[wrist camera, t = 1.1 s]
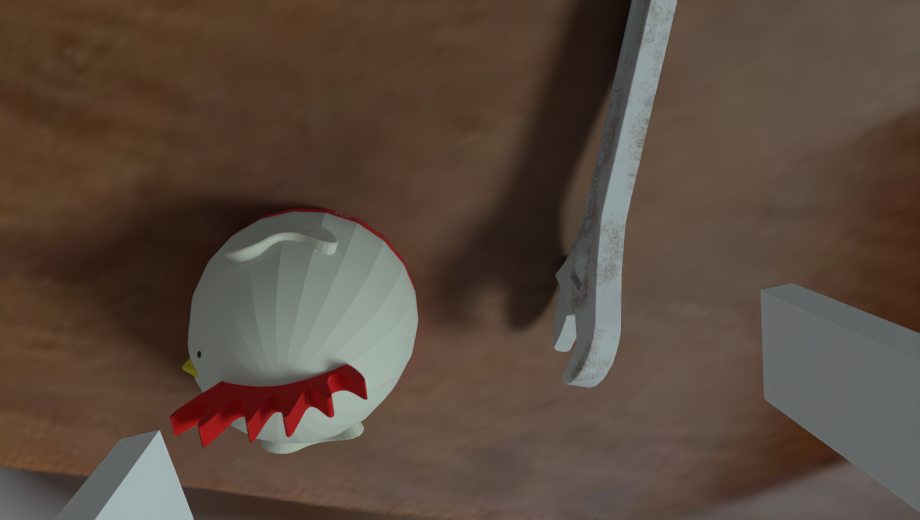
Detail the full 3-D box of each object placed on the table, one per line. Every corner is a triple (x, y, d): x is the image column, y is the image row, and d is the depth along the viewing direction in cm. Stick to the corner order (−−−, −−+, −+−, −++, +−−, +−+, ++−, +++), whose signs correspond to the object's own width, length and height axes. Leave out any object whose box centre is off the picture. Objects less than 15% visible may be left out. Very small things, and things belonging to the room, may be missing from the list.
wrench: (655, -67, 37) (558, 360, 39) (630, -75, 36) (535, 356, 39) (733, -140, 29) (606, 402, 31) (703, -151, 28) (577, 397, 31)
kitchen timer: (183, 218, 34) (36, 285, 19) (404, 197, 35) (420, 243, 21) (225, 418, 37) (126, 601, 23) (424, 390, 39) (450, 545, 24)
